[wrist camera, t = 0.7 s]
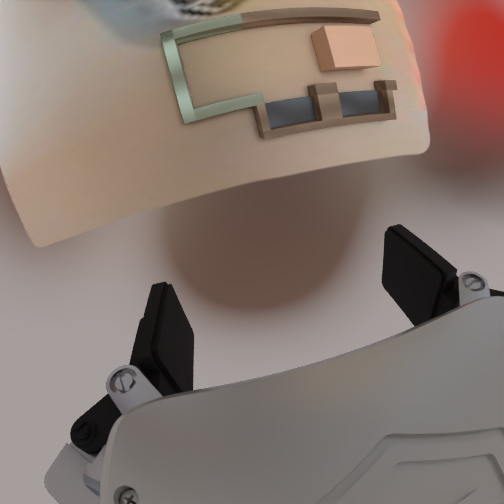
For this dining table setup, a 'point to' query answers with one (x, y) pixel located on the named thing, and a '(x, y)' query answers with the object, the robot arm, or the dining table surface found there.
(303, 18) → the box
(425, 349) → the robot arm
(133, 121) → the dining table surface
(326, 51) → the block
